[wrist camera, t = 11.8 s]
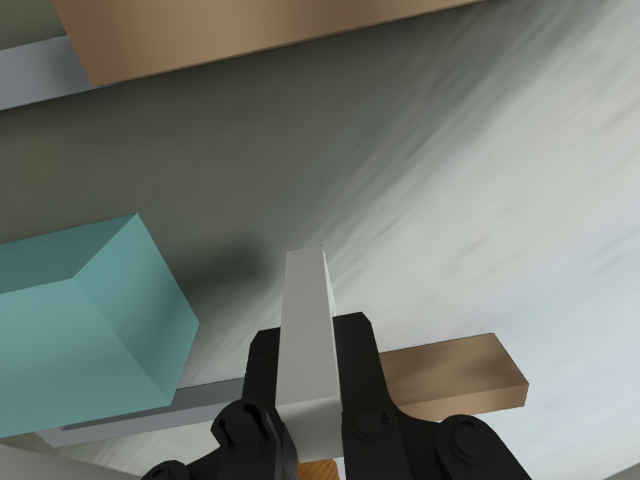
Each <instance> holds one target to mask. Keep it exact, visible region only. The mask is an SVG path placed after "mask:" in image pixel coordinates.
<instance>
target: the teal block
mask: <svg viewBox="0 0 640 480" xmlns="http://www.w3.org/2000/svg"><path fill="white" fill-rule="evenodd" d="M199 324H200V323H199V321H198V319H197V317H196V316H195V314H194V312H193V310H192V309H191V307H190V305H189V303H188V302H187V300H186V298H185V296H184V294H183V293H182V291H181V289H180V287H179V286H178V284H177V282H176V280H175V279H174V277H173V275H172V273H171V272H170V270H169V268H168V266H167V264H166V263H165V261H164V259H163V257H162V256H161V254H160V252H159V250H158V249H157V247H156V245H155V243H154V242H153V240H152V238H151V236H150V235H149V233H148V231H147V229H146V227H145V226H144V224H143V222H142V220H141V219H140V217H139V215H138V213H134V214H130V215H126V216H121V217H117V218H113V219H108V220H104V221H100V222H95V223H91V224H87V225H82V226H78V227H74V228H69V229H65V230H61V231H56V232H52V233H48V234H43V235H39V236H35V237H30V238H26V239H22V240H17V241H13V242H9V243H4V244H0V438H3V437H8V436H13V435H18V434H23V433H29V432H34V431H39V430H44V429H49V428H55V427H60V426H65V425H70V424H75V423H80V422H86V421H91V420H96V419H101V418H106V417H112V416H117V415H122V414H127V413H132V412H138V411H143V410H148V409H153V408H158V407H163V406H169V405H171V402H172V399H173V397H174V394H175V391H176V388H177V386H178V383H179V380H180V377H181V374H182V372H183V369H184V366H185V363H186V361H187V358H188V355H189V352H190V349H191V347H192V344H193V341H194V338H195V336H196V333H197V330H198V327H199Z"/></svg>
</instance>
